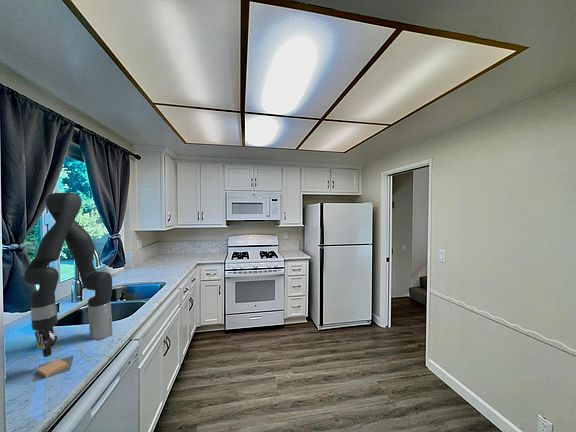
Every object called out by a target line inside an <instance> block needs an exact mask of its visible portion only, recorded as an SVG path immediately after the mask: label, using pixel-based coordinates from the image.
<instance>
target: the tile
mask: <svg viewBox="0 0 576 432" xmlns="http://www.w3.org/2000/svg"><path fill="white" fill-rule="evenodd" d="M60 359H61V358H57V359H55V360H52V361H53V362H52V361H50V362H51V363H49V364H46V365H44V366H42V367H40V368H36V372H38V373H39V374H41V375H43V376H44V377H47V378H49V377H48V376H50V375H52V374H54V373H56V372H58V371H60V370H62V369H64V368H66V367H68V363H66V362H64V361H62V360H60Z"/></svg>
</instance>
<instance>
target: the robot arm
mask: <svg viewBox="0 0 576 432" xmlns="http://www.w3.org/2000/svg"><path fill="white" fill-rule="evenodd" d="M82 202H83V201H82V198H81V196H80V195H78V194H77V193H76V192H75V193H74V192H52V193H50V194H48V195H47V196H46V198H45V205H46V208H47V210H48V212H49V213H50V215H51V217H52V219H53V220H54V221H55V222H54V223H53V225H52V226H51V228H50V229H48V231H47V232H46V233H45V235H43V237H42V239H41V240H40V242H39V246H38V249H37V252H36V255H35V256H34V257H33V259H32V261H30V263H29V265H28V266H27V268H26V269H25V271H24V275H23V278H24V282H25V283H26V284H28V285H37V286H39V287H38V290H34V291H33V292H32V293H31V294H30V306H31V308H30V311H31V312H30V319H31V329H32V330H33V331H35V332H34V335H35V339H36V338H37V340H36V342H37V341H38V343H39V345H41V349H42V357H44V358H48V357H49V356H51V355H52V347H53V346H55V344H56V343H57V340H58V335H53V334H55V330H54V327H55V326H56V325H58V322H59V321H58V307H57V303H56V294H55V293H56V289H57V285H58V282H59V278H60V275H59V272H58V270H57V269H56V268H55V267H53V266H49V265H50V263H52V262H55V261H58V260H59V258H60V255H61V252H62V249H63V247H64V246H63V245H64V243H66V247H67V249H68V251H69V252H70V254H71V256H72V259H73V260H74V263H75V265H76V268H77V272H78V273H79V277H80V281H81V283H82V286H83V287H84V288H85V289H86V290H88V291H94V296H91V297H90V298H89V299H88V300H87V307H88V308H87V309H88V310H87V311H88V324H89V326H88V327H89V329H88V330H89V339H90V340H95V341H98V340H99V341H100V340H103V339H104V340H105V339H106V338H109V337H110V336H113V318H112V317H113V316H112V314H113V313H112V300H111V299H112V296H113V277H112V274H110V272H107V271H98V270H97V269H96V268H95V265H94V261H93V260H94V259H93V258H94V256H95V249H96V247H95V244H94V241H93V239H92V237H91V235H90V234H89V233H88V231H87V230H86V229H84V227H83V226H82V225H80V224H79V223H78V221H76V218H77V216H78V214H79V213H80V210H81V208H82V204H83V203H82ZM36 331H37V332H36Z"/></svg>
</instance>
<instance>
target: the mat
mask: <svg viewBox="0 0 576 432" xmlns="http://www.w3.org/2000/svg"><path fill="white" fill-rule="evenodd" d="M59 359H60V360H62V361H64V362H66V363H68V367H66V368H64V369H62V370H60V371H58V372H56V373H54V374H52V375H50V376H48V377H44V376H43V375H41V374H39V373H38V372H37V371H35V374H34V376H33V378H32V380H31V383H33V382H38V381H40V380H43V379H44V380H45V379H47V378H50V377H54V376H56V375H60V374H64V373H67V372H70V371H71V368H72V363H73V360H74V355H70V356H67V357H64V358H59ZM53 361H54V360H52V361H49V362H48V361H47V362H45V363H41V364H39V365H38V368H40V367H42V366H44V365H46V364H49V363H51V362H53ZM38 368H37V369H38Z"/></svg>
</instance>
